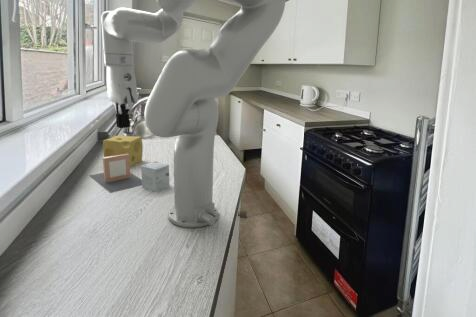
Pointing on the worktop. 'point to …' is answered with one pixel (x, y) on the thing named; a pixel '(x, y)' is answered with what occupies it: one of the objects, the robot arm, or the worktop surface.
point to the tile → (116, 167)
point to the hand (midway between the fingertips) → (123, 127)
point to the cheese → (124, 147)
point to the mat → (117, 182)
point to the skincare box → (155, 175)
